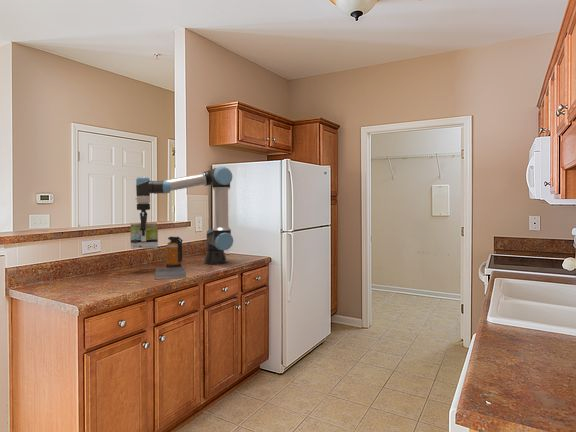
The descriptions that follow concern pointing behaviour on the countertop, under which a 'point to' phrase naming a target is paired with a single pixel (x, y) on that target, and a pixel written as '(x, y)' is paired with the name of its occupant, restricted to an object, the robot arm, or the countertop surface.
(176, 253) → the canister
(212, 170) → the robot arm
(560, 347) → the countertop surface
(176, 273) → the grey flat slab
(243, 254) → the countertop surface
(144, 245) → the tea box
